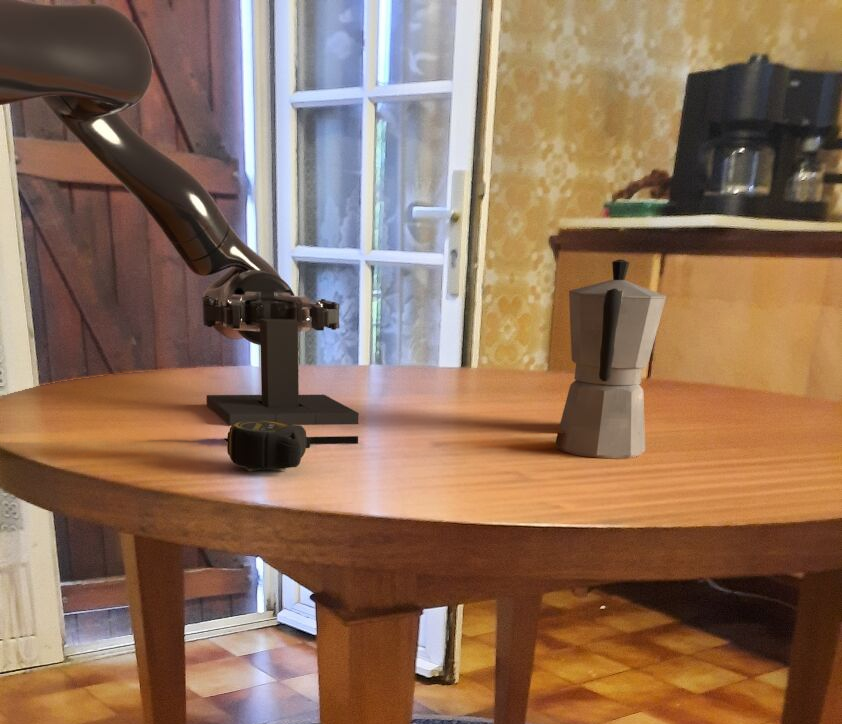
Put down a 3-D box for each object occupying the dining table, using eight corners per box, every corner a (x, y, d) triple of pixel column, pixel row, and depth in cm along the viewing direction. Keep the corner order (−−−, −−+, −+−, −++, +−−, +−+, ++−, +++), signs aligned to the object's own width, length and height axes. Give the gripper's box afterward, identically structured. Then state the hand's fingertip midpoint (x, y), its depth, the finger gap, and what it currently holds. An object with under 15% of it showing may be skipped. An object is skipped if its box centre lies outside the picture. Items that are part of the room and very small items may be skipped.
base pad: (230, 445, 104) (229, 414, 103) (207, 424, 115) (206, 395, 114) (358, 443, 108) (358, 412, 107) (324, 422, 119) (324, 394, 118)
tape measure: (300, 479, 91) (300, 434, 90) (220, 474, 92) (219, 429, 90) (310, 464, 98) (310, 421, 96) (236, 460, 98) (234, 417, 96)
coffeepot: (560, 436, 117) (577, 256, 109) (647, 443, 116) (671, 261, 108) (544, 461, 104) (563, 257, 96) (643, 469, 102) (670, 263, 94)
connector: (268, 436, 110) (266, 321, 105) (262, 430, 113) (259, 318, 108) (299, 435, 111) (298, 322, 106) (292, 430, 114) (290, 319, 109)
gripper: (193, 268, 118) (205, 275, 104) (321, 272, 122) (349, 280, 108) (197, 340, 121) (209, 356, 107) (321, 342, 125) (348, 358, 111)
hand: (279, 318), depth 107 cm, fingers open, 8 cm apart
